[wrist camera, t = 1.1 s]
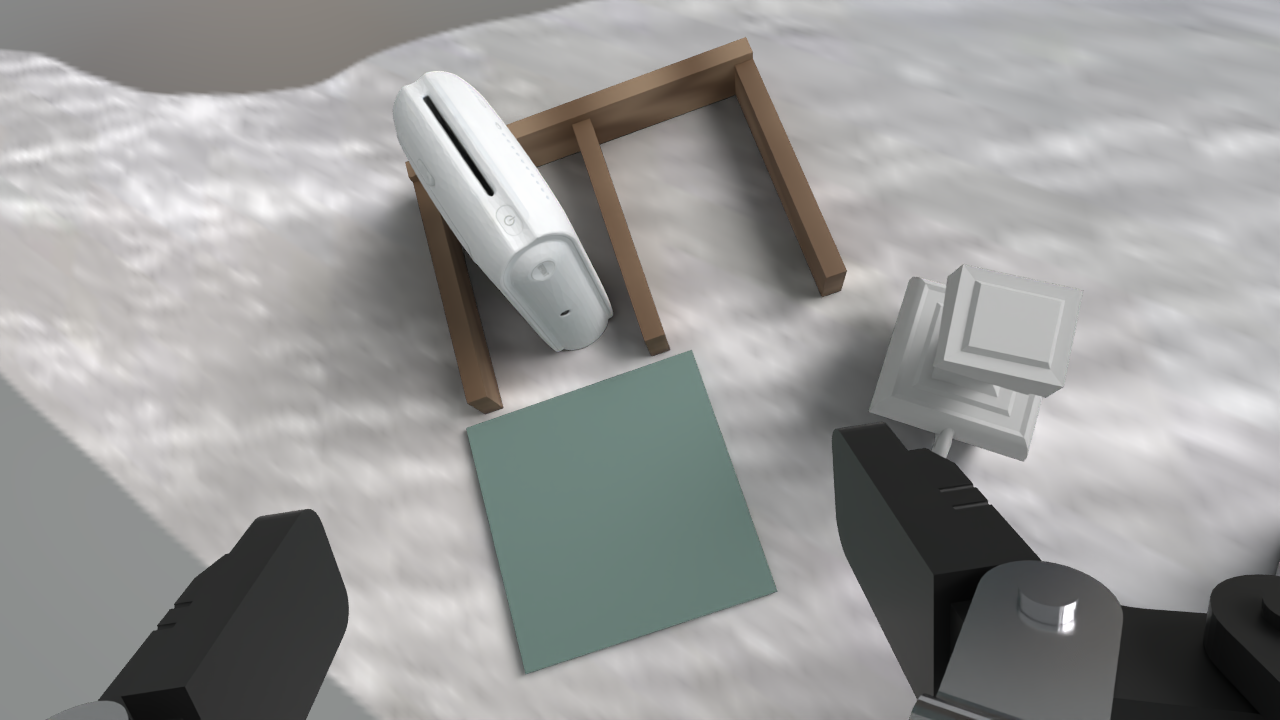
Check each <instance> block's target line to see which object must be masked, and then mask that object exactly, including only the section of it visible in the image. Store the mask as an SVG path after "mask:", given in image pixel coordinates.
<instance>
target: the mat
mask: <svg viewBox="0 0 1280 720" xmlns="http://www.w3.org/2000/svg"><path fill="white" fill-rule="evenodd" d="M466 430H467V434H468V438H469V442H470V446H471V450H472V454H473V458H474V463H475V467H476V471H477V475H478V479H479V483H480V487H481V492H482V496H483V500H484V504H485V508H486V512H487V516H488V521H489V525H490V529H491V533H492V537H493V541H494V545H495V549H496V554H497V558H498V562H499V566H500V570H501V574H502V578H503V583H504V587H505V591H506V595H507V599H508V603H509V607H510V612H511V616H512V620H513V624H514V628H515V632H516V636H517V640H518V645H519V649H520V653H521V657H522V661H523V665H524V669H525V674H528V673H531V672H534V671H537V670H540V669H543V668H546V667H549V666H552V665H555V664H558V663H561V662H564V661H567V660H570V659H573V658H576V657H579V656H582V655H586V654H589V653H592V652H595V651H598V650H601V649H604V648H607V647H610V646H613V645H616V644H619V643H622V642H625V641H628V640H631V639H634V638H637V637H640V636H643V635H646V634H649V633H652V632H656V631H659V630H662V629H665V628H668V627H671V626H674V625H677V624H680V623H683V622H686V621H689V620H692V619H695V618H698V617H701V616H704V615H707V614H710V613H713V612H716V611H719V610H723V609H726V608H729V607H732V606H735V605H738V604H741V603H744V602H747V601H750V600H753V599H756V598H759V597H762V596H765V595H768V594H771V593H774V592H777V589H776V586H775V583H774V580H773V578H772V575H771V572H770V569H769V566H768V564H767V561H766V558H765V555H764V552H763V549H762V547H761V544H760V541H759V538H758V535H757V533H756V530H755V527H754V524H753V521H752V519H751V516H750V513H749V510H748V507H747V504H746V502H745V499H744V496H743V493H742V490H741V488H740V485H739V482H738V479H737V476H736V474H735V471H734V468H733V465H732V462H731V459H730V457H729V454H728V451H727V448H726V445H725V443H724V440H723V437H722V434H721V431H720V428H719V426H718V423H717V420H716V417H715V414H714V412H713V409H712V406H711V403H710V400H709V398H708V395H707V392H706V389H705V386H704V383H703V381H702V378H701V375H700V372H699V369H698V367H697V364H696V361H695V358H694V355H693V352H692V350H690V351H687V352H684V353H681V354H678V355H675V356H673V357H670V358H667V359H664V360H661V361H658V362H655V363H652V364H650V365H647V366H644V367H641V368H638V369H635V370H632V371H629V372H626V373H624V374H621V375H618V376H615V377H612V378H609V379H606V380H603V381H601V382H598V383H595V384H592V385H589V386H586V387H583V388H580V389H577V390H575V391H572V392H569V393H566V394H563V395H560V396H557V397H554V398H552V399H549V400H546V401H543V402H540V403H537V404H534V405H531V406H528V407H526V408H523V409H520V410H517V411H514V412H511V413H508V414H505V415H503V416H500V417H497V418H494V419H491V420H488V421H485V422H482V423H479V424H477V425H474V426H471V427H468V428H466Z"/></svg>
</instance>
